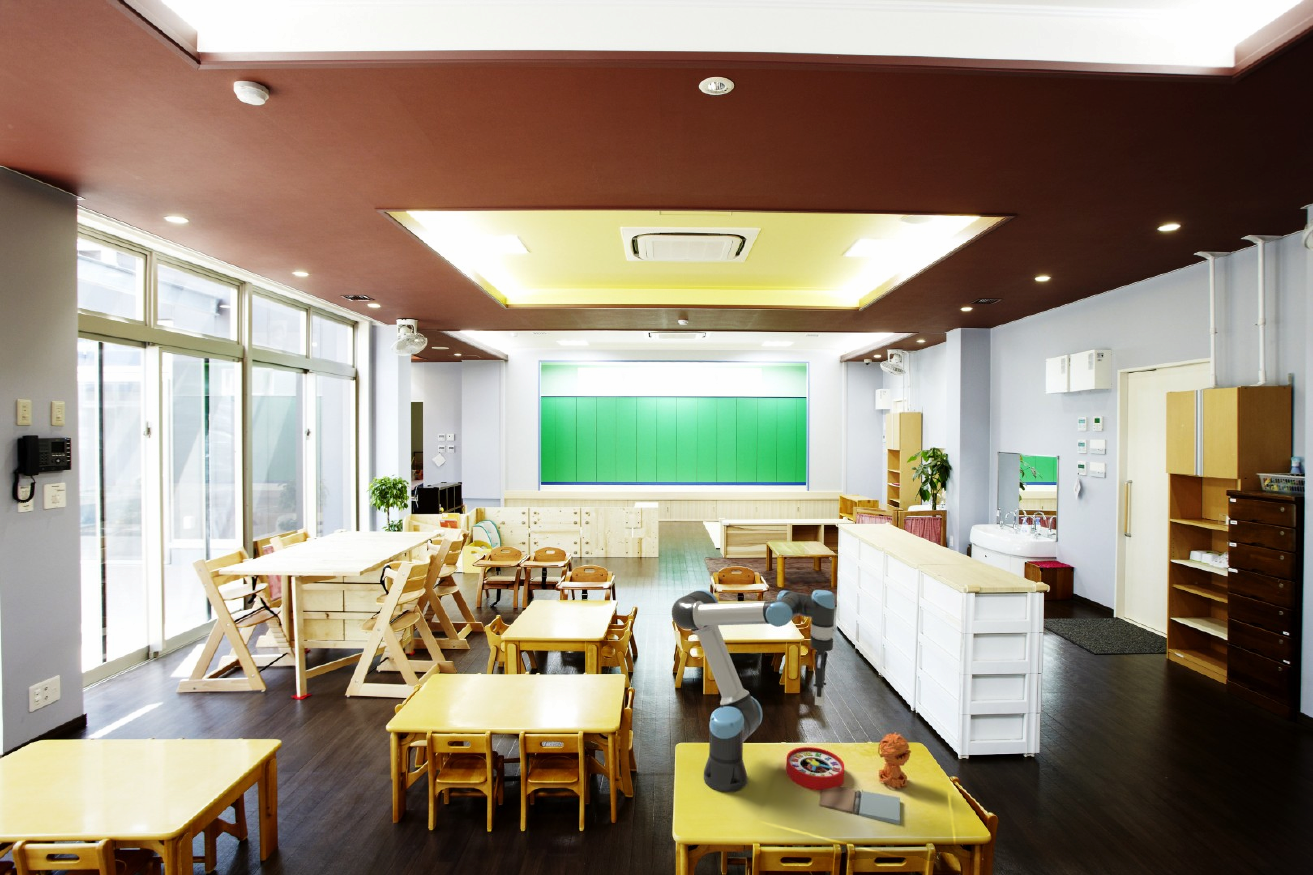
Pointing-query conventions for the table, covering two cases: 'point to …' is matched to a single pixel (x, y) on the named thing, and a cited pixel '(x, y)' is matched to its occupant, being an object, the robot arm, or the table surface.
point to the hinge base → (840, 799)
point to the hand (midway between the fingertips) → (819, 704)
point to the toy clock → (815, 768)
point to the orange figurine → (894, 760)
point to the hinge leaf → (879, 807)
